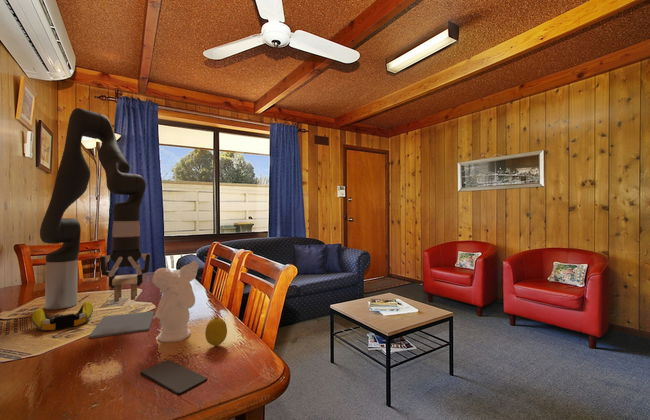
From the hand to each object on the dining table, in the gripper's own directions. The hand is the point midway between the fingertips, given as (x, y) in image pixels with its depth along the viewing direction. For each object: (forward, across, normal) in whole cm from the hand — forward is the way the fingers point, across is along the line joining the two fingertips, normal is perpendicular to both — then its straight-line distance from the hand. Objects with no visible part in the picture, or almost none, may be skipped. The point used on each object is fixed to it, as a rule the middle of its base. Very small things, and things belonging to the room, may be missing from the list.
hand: (126, 286), depth 98 cm
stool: (+4, 0, 0) cm, 4 cm away
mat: (+12, 0, 0) cm, 12 cm away
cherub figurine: (+12, -15, +15) cm, 24 cm away
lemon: (+12, -25, +29) cm, 40 cm away
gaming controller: (+12, +18, -7) cm, 23 cm away
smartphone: (+13, -15, +41) cm, 45 cm away
